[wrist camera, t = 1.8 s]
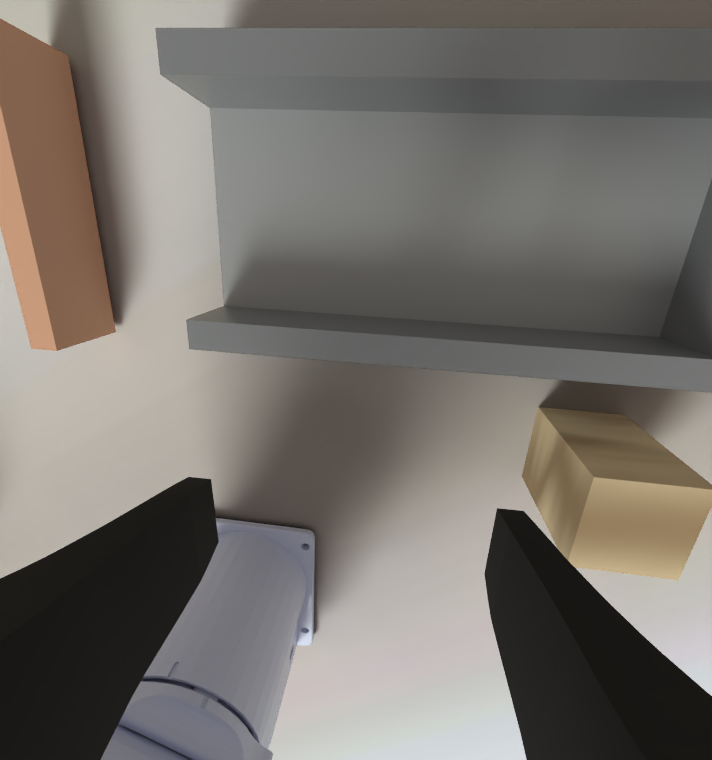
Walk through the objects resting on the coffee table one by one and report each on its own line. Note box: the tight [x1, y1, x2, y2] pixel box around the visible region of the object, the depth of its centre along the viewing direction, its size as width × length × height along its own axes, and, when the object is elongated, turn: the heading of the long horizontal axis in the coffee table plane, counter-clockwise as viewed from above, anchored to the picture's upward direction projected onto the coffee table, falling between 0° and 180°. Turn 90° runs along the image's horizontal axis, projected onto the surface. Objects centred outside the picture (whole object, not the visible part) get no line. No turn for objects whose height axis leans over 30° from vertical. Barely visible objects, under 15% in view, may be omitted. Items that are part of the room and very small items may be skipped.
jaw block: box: [522, 407, 712, 580], centre depth 17 cm, size 4×4×6 cm
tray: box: [156, 28, 712, 392], centre depth 15 cm, size 10×21×4 cm, turn 87°
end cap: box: [0, 19, 116, 351], centre depth 16 cm, size 12×1×4 cm, turn 177°
